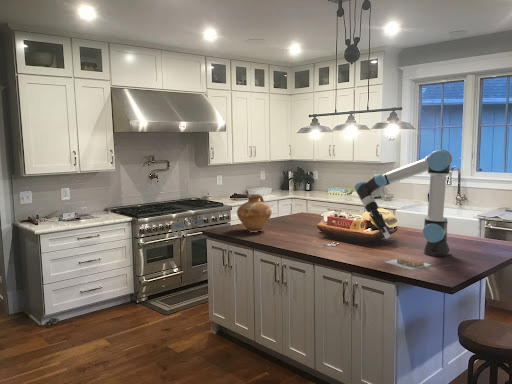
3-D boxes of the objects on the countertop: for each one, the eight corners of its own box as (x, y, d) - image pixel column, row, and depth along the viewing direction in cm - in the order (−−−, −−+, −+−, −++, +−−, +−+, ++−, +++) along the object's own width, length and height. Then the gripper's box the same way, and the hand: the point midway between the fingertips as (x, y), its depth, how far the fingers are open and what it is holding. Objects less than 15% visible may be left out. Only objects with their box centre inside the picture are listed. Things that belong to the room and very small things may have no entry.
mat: (383, 262, 261) (383, 261, 261) (403, 258, 270) (403, 257, 270) (411, 270, 244) (411, 269, 244) (431, 265, 253) (432, 264, 253)
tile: (397, 258, 258) (414, 263, 248) (406, 256, 262) (423, 260, 252) (397, 262, 258) (414, 267, 248) (406, 260, 262) (423, 265, 252)
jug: (230, 232, 361) (229, 195, 358) (251, 226, 383) (250, 192, 380) (258, 236, 344) (257, 197, 341) (278, 230, 366) (278, 193, 363)
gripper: (370, 208, 287) (387, 240, 277) (360, 206, 277) (378, 240, 267) (379, 201, 283) (397, 234, 273) (369, 200, 273) (388, 233, 263)
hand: (388, 237), depth 270 cm, fingers closed
